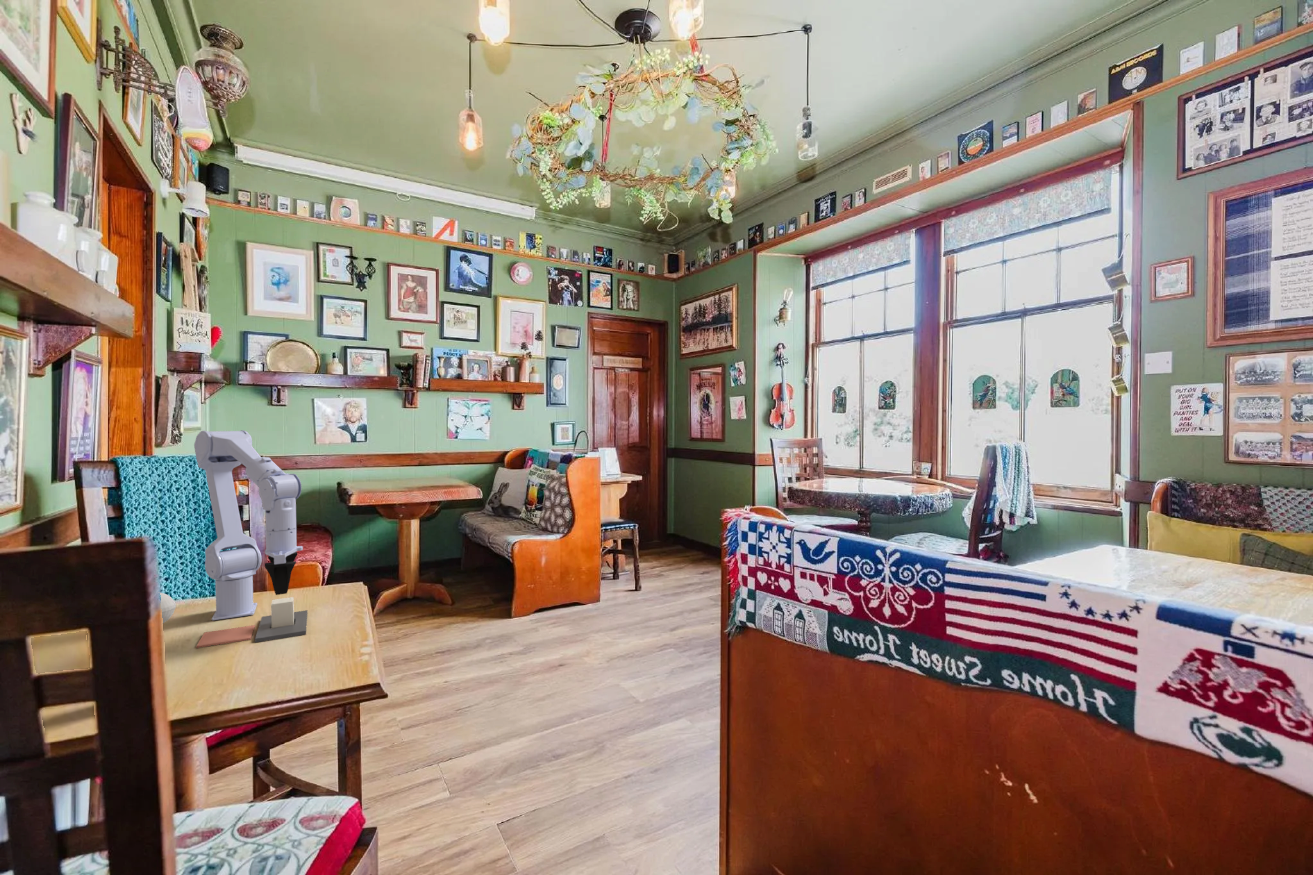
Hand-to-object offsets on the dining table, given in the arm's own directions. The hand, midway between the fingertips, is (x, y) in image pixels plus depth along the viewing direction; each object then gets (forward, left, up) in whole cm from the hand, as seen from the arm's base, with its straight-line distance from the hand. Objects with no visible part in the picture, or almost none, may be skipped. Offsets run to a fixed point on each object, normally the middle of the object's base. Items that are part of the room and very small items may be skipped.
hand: (282, 589), depth 128 cm
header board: (0, 0, -8) cm, 8 cm away
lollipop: (+18, -19, -9) cm, 27 cm away
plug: (0, 0, -8) cm, 8 cm away
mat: (+1, -10, -8) cm, 13 cm away
